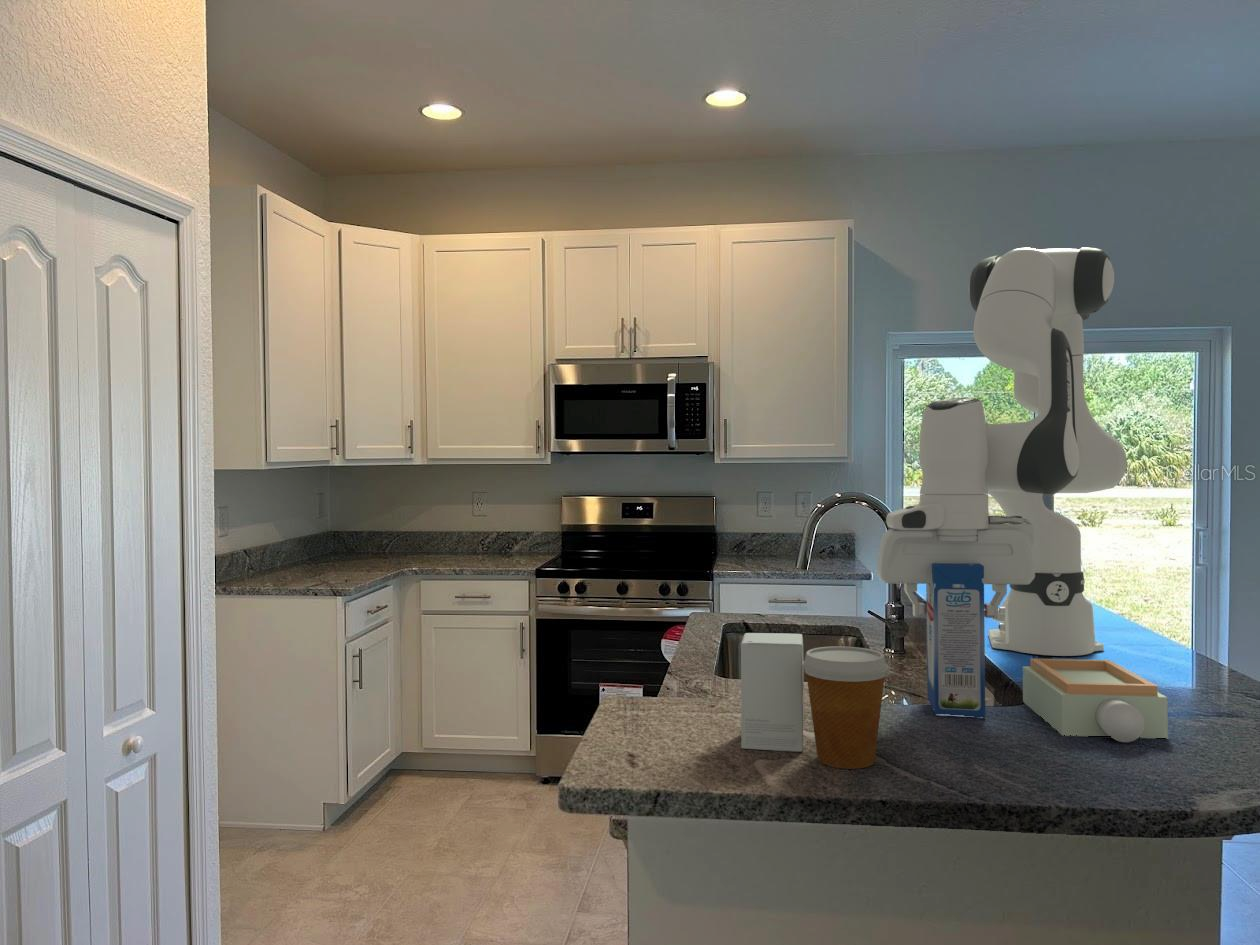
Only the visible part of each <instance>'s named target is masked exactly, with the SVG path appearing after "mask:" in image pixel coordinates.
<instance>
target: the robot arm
mask: <svg viewBox="0 0 1260 945" xmlns="http://www.w3.org/2000/svg"><path fill="white" fill-rule="evenodd" d="M969 278H970V279H969V281H968V296H969V301H970V306H971V307H972V309H973V310H974V311H975V312H976V313H975V317H974V322H973V340H974V342H975V345H976V346H977V348H978V350H979V351H980V353H981V354H982V355H983V356H984V357H985V358H986V359H988V360H989V361H991V363H992V362H993V364H995V365H997V366H999V367H1001V368H1004V369H1008V370H1010V371H1013V395H1014V398H1015V400H1016V402H1017V403H1018V404H1019V405H1020V406H1021V407H1023V408H1024V409H1026V410H1028V411H1030V412H1032V413H1034V414H1036V415H1037V416H1035V417H1034V418H1032V419H1030V420H1028V421H1024V422H1009V423H1007V422H1006V423H987V421H986V417H985V411H984V407H983V403H982V400H980V399H979V398H976V397H968V396H967V397H966V396H963V397H953V398H947V399H944V398H943V399H939V400H935V401H931V402H930V403H928V404H927V405H925V407H924V410H923V413H922V419H921V425H920V433H919V434H920V436H919V466H920V469H921V473H922V474H921V475H922V483H921V486H920V489H919V494H920V495H919V503H917V504H913V505H908V506H905V507H904V508H900V509H898V510H894V511H890V512H888V514H887V515H886V519H885V520H886V524H887V527H888V528H890V529H888V530H886V531H884V533H883V535H882V537H881V539H880V544H879V550H878V556H877V558H878V559H877V576H878V577H879V579H880V580H881V581H882V582H884V583H885V584H896V585H897V584H898V585H899V584H901V585H902V584H903V591H904V592H905V594H906V596H907V597H908V600H909V601H910V602H911V603H912V616H913V617H914V618H925V617H926V618H927V603H926V604H925V603H924V602H919V601H918V599H917V597H916V596H915V594H914V592H915V593H916V592H918V584H919V585H921V584H923V585H924V584H925V585H926V584H932V563H951V564H981V565H983V566H984V585H991V590H992V592H995V593H994V594H993V596H992V598H991V600H990V602H988V603H985V602H984V618H986V619H992V621H994V622H998V628H993V629H988V634H989V635H988V638H989V642H990V645H991V647H992V648H993V649H997V650H1004V651H1005V650H1008V651H1013V652H1018V653H1023V654H1025V653H1026V654H1031V655H1040V656H1057V657H1059V656H1061V657H1069V656H1070V657H1073V656H1075V657H1076V656H1085V655H1089V654H1092V653H1094V652H1100V651H1104V650H1105V648H1104V647H1105V646H1104V644H1103V643H1101V642H1098V641H1096V631H1095V618H1094V608H1093V604H1092V603H1091V602H1090V601H1089V600H1088V599H1087V598H1086V597H1085V596H1084V594H1083V592H1084V591H1085V575H1084V571H1082V554H1081V553H1082V550H1081V549H1082V543H1081V542H1082V541H1081V539H1082V536H1081V535H1082V534H1081V531H1080V528H1079V527H1078V526H1077V524H1076V523H1075V522H1074V521H1073V520H1071V519H1070V518H1068V517H1066V516H1065V515H1062V514H1060V513H1059V512H1056V511H1053V510H1052V509H1049V508H1047V507H1046V505H1045V503H1044V499H1043V496H1044V495H1051V496H1052V495H1056V494H1088V493H1093V492H1094V493H1095V492H1099V491H1105V490H1110V489H1114V488H1115V487H1116V486H1117V485H1118V484H1119V483H1120V482H1121V481H1122V479H1123V477H1124V476H1125V473H1126V471H1127V464H1128V461H1127V455H1126V454H1127V453H1126V451H1125V449H1124V447H1123V444H1121V442H1120V441H1119V439H1117V437H1115V436H1114V435H1112V434H1110V433H1109V432H1107V431H1106V430H1105V429H1104V428H1103V427H1102V426H1101V425H1100V424H1099V423H1098V422H1097V420H1096V419H1095V417H1093V415H1092V413H1091V411H1090V409H1089V406H1088V404H1087V400H1086V395H1085V386H1084V385H1085V384H1084V383H1085V382H1084V357H1085V356H1084V353H1085V343H1084V342H1085V341H1084V324H1083V321H1085V320H1088V319H1089V318H1090V315H1092V314H1094V313H1097V312H1099V311H1100V310H1101V309H1102V308H1103V307H1104V306H1105V305H1106V304H1107V303H1108V301H1109V298H1110V296H1111V294H1112V292H1113V289H1114V285H1115V284H1114V283H1115V271H1114V267H1113V265H1112V262H1111V259H1110V256H1109V255H1108V254H1107V253H1106V252H1105V250H1103V249H1099V248H1096V247H1085V246H1084V247H1083V246H1082V247H1081V248H1079V249H1077V248H1043V249H1038V248H1037V249H1036V248H1033V247H1032V248H1031V247H1020V248H1014V249H1011V250H1009V251H1007V252H1006V253H1004V254H1003V255H1001V254H1000V255H999V254H997V255H994V256H993V255H992V256H989V257H986V258H984V259H982V260H980V261H979V262H978V263H977V264H976V265H975V266H974V268H972V271H971V274H970V277H969ZM989 496H991V497H992V498H993V499H994V500H995V501H996V503H998V505H999V506H1000V508H1001V509H1002V511H1003V512H1004V514H1005V515H989ZM1008 585H1009V586H1008ZM1008 587H1009V588H1010V590H1009V592H1008ZM1006 595H1007V596H1006ZM1005 596H1006V598H1005ZM1004 598H1005V599H1004ZM1003 600H1004V601H1003ZM1002 602H1003V603H1002ZM1001 603H1002V604H1001ZM1000 604H1001V606H1000Z"/></svg>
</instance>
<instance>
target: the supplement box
mask: <svg viewBox="0 0 1260 945" xmlns="http://www.w3.org/2000/svg"><path fill="white" fill-rule="evenodd" d="M803 661H804V638H803V634H802V633H783V632H780V633H779V632H778V633H777V632H776V633H775V632H745V633H744V634H743V637H742V640H741V643H740V682H741V683H740V701H741V702H740V709H741V710H740V711H741V712H740V713H741V714H740V716H741V717H740V718H741V720H740V722H741V724H740V725H741V726H740V727H741V728H740V730H741V731H740V732H741V737H740V738H741V740H740V741H741V745H740V746H741V749H747V750H761V751H762V750H763V751H779V752H796V753H797V752H800V753H801V752H803V750H804V715H805V714H804V711H805V710H804V702H805V701H804V700H805V699H804V698H805V697H804V696H805V693H804V691H805V690H804V682H805V681H804V674H805V671H804V668H803V666H802V663H803Z"/></svg>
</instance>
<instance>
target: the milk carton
mask: <svg viewBox="0 0 1260 945" xmlns="http://www.w3.org/2000/svg"><path fill="white" fill-rule="evenodd" d="M925 586H926V589H925V590H926V591H925V592H926V594H925V595H926V597H925V598H926V669H927V670H926V673H927V674H926V675H927V676H926V679H927V680H926V681H927V682H926V683H927V686H926V690H927V693H926V694H927V695H926V696H927V697H926V698H927V699H928V702H929V704H930V706H931V709H932V710H933V709H934V711H933V713H934V712H935V714H950V715H964V716H974V717H983V718H985V719H986V662H985V660H986V659H985V656H986V654H985V650H986V649H985V646H986V645H985V644H986V643H985V642H986V641H985V640H986V639H985V638H986V637H985V636H986V635H985V616H984V611H985V609H984V603H985V584H984V566H983V565H981V564H951V563H932V584H925ZM935 714H934V715H935ZM983 718H982V719H983Z"/></svg>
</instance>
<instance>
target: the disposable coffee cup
mask: <svg viewBox="0 0 1260 945" xmlns="http://www.w3.org/2000/svg"><path fill="white" fill-rule="evenodd" d="M885 658H886V657H885V655H884V653H883V652H881V651H877V650H875V649H871V648H865V647H856V646H837V645H836V646H822V647H821V646H820V647H814V648H811V649H808V650H807V651H806V652H805V657H804V660H803V663H802V666H803V668H804V674H806V680H807V687H808V694H809V704H810V709H811V710H810V711H811V720H812V727H813V732H814V742H815V749H816V756H817V758H816V759H817V761H819V762H820V763H821V764H824V765H826V766H829V767H832V768H839V769H850V770H851V769H853V770H855V769H864V768H868V767H871V766H873V765H874V764H875V762H876V751H877V750H876V749H877V742H878V735H879V728H880V727H879V726H880V725H879V724H880V720H881V719H880V718H881V711H882V708H881V707H882V701H883V692H884V683H885V677H886V676H887V672H888V671H889V669H890V666H889V664H887V662H886V659H885Z"/></svg>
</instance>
